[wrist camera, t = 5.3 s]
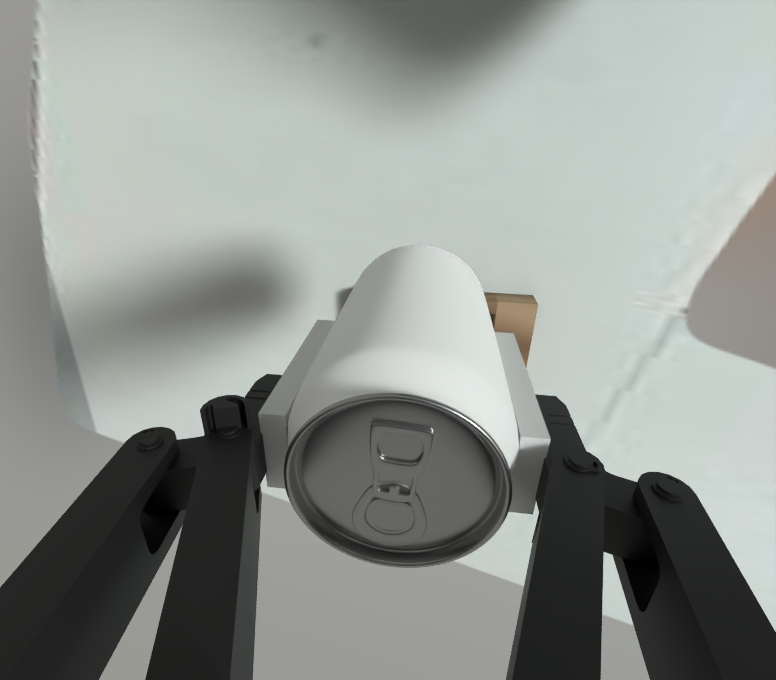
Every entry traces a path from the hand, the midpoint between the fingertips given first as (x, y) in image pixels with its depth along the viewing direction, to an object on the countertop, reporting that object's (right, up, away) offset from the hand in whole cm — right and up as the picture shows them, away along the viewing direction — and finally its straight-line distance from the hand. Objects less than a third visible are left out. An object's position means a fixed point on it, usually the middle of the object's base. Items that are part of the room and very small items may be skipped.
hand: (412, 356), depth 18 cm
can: (0, +2, +3) cm, 4 cm away
